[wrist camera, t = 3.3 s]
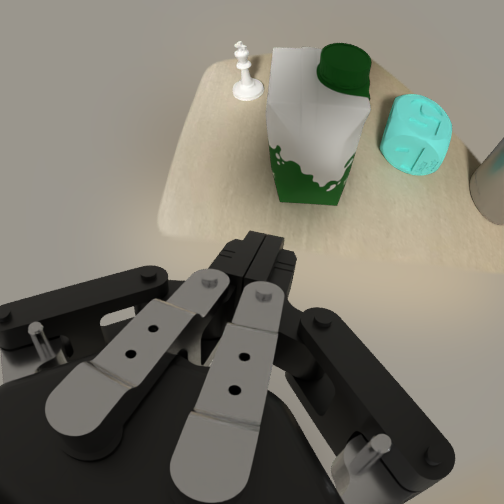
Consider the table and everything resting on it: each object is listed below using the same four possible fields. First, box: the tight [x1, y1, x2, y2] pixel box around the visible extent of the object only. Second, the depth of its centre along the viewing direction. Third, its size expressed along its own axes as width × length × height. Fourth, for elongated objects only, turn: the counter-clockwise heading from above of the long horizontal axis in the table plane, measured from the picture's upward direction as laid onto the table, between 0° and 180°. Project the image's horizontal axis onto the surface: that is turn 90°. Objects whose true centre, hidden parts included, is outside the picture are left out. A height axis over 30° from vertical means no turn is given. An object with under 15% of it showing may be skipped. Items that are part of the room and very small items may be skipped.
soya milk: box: [266, 43, 372, 206], centre depth 29 cm, size 9×9×20 cm
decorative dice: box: [380, 94, 452, 175], centre depth 35 cm, size 8×8×8 cm
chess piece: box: [233, 41, 264, 101], centre depth 40 cm, size 5×5×10 cm
